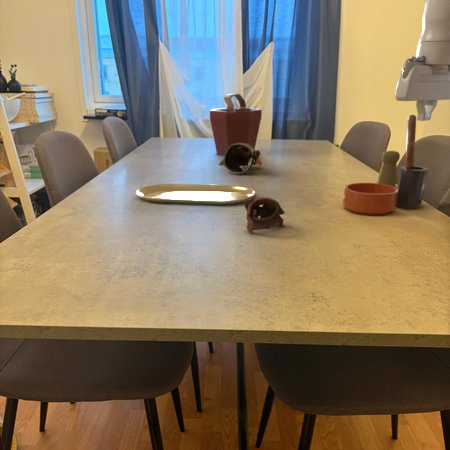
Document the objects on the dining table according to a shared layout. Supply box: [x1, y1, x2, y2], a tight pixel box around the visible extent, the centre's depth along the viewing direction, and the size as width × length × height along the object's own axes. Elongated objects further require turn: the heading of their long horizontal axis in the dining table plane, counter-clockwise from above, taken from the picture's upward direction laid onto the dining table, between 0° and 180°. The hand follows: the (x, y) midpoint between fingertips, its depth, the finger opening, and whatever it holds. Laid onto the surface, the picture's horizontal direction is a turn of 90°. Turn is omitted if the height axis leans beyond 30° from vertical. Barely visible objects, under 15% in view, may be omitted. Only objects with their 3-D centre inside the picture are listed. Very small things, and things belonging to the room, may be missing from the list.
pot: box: [218, 143, 263, 175], centre depth 159 cm, size 17×11×18 cm
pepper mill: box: [376, 150, 401, 188], centre depth 135 cm, size 6×6×11 cm
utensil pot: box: [396, 165, 429, 210], centre depth 115 cm, size 7×7×10 cm
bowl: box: [342, 182, 399, 216], centre depth 114 cm, size 13×13×6 cm
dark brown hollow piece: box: [244, 196, 286, 234], centre depth 100 cm, size 12×10×8 cm
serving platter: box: [135, 183, 256, 206], centre depth 127 cm, size 19×35×2 cm, turn 82°
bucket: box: [209, 92, 263, 157], centre depth 193 cm, size 24×22×25 cm
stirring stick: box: [405, 114, 417, 170], centre depth 113 cm, size 2×2×22 cm
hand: (423, 120), depth 108 cm, fingers closed
